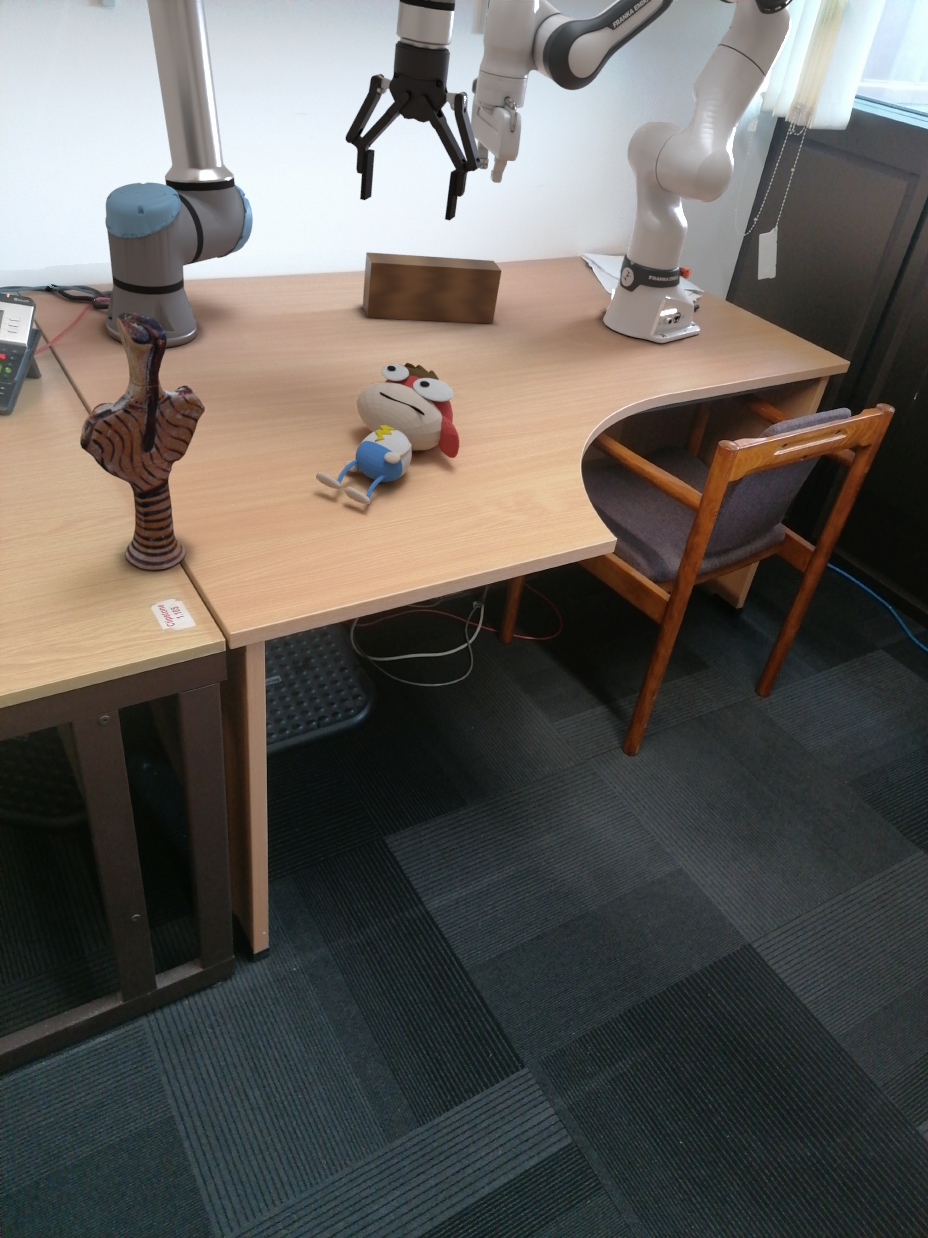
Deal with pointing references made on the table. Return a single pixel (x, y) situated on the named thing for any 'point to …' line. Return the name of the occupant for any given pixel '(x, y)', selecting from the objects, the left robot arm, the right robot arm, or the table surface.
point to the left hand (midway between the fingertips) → (407, 208)
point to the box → (430, 288)
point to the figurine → (145, 440)
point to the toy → (399, 425)
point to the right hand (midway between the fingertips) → (488, 174)
